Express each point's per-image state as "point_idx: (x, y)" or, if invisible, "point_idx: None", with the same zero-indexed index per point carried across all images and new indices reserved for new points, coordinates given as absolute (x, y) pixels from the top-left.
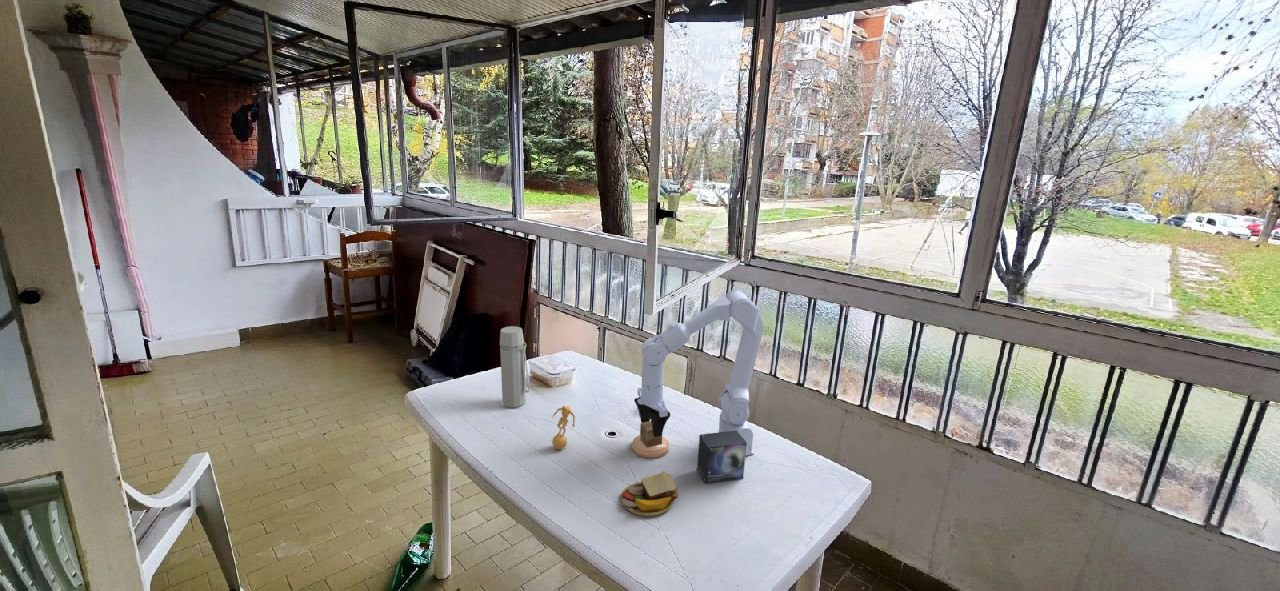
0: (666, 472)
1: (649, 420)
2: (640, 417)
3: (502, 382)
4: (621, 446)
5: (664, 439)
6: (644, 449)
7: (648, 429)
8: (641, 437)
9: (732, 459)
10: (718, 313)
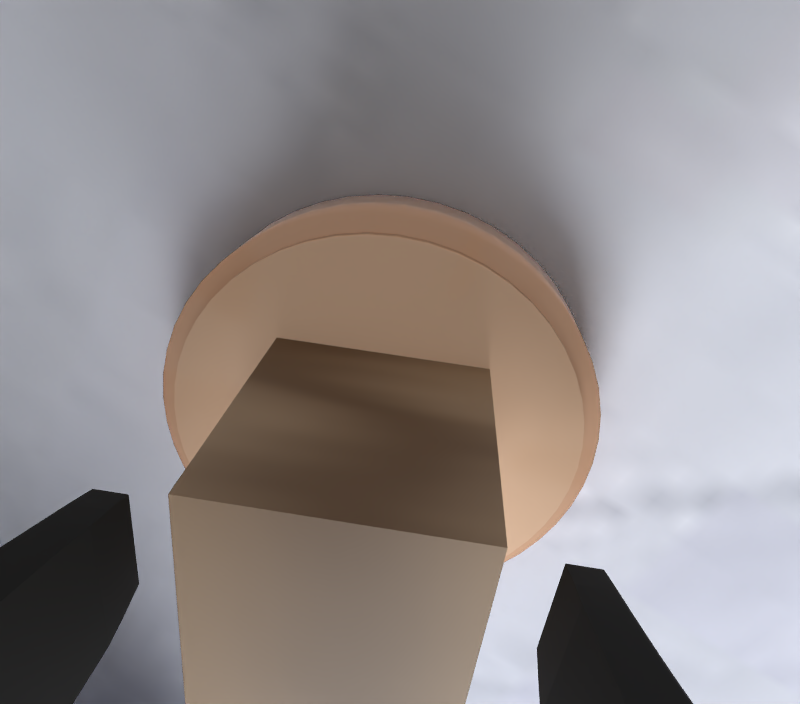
0: None
1: (539, 691)
2: (640, 662)
3: None
4: (618, 128)
5: None
6: (250, 287)
7: (208, 532)
8: (447, 389)
9: None
10: None
